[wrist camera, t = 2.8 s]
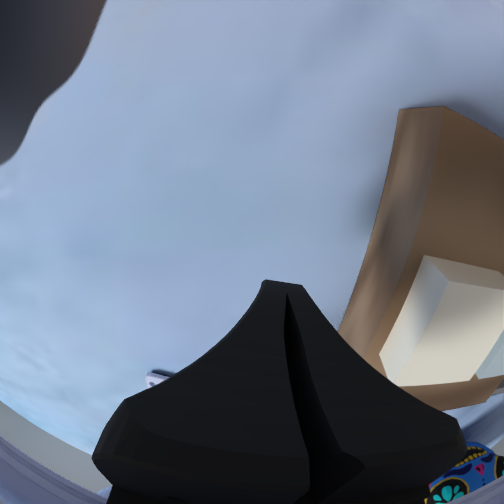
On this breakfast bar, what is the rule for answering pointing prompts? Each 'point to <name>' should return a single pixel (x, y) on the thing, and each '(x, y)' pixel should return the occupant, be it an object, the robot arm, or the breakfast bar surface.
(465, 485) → the ceramic pot
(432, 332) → the cream tile
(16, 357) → the breakfast bar surface
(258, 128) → the breakfast bar surface
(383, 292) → the tan wooden board
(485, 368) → the blue grey tile
